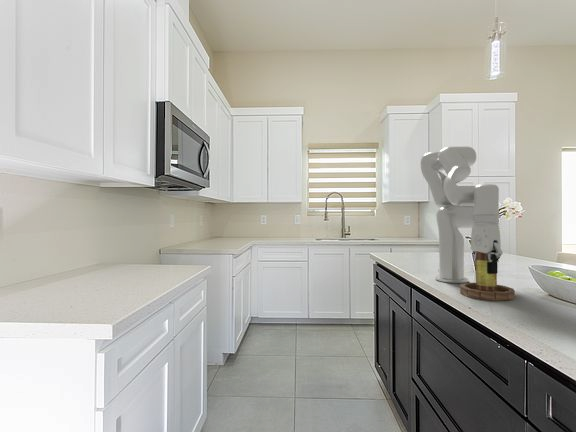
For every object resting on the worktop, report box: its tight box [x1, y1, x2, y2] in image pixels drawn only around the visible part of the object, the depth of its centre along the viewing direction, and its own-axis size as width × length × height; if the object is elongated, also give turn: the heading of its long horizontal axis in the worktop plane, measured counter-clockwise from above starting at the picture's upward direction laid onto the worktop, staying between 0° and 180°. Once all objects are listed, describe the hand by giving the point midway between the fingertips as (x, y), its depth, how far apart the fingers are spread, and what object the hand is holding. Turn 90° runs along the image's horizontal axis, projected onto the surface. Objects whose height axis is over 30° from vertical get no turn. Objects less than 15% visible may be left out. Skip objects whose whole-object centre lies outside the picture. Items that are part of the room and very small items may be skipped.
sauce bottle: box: [475, 251, 498, 292], centre depth 114 cm, size 7×6×20 cm
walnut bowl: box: [459, 282, 516, 302], centre depth 114 cm, size 16×16×3 cm
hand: (485, 271), depth 114 cm, fingers closed on sauce bottle, 6 cm apart
